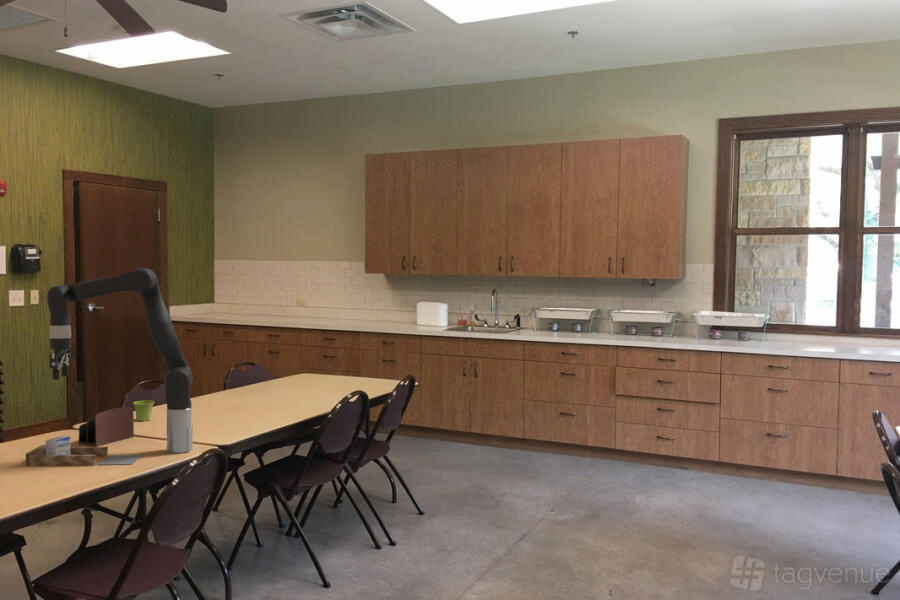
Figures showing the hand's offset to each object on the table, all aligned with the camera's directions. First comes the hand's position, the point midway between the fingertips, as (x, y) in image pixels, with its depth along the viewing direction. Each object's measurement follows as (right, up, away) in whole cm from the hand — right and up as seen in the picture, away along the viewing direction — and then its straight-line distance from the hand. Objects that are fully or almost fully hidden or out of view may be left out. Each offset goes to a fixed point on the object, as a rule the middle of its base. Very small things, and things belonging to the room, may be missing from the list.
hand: (60, 377), depth 289 cm
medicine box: (+6, -30, -12) cm, 33 cm away
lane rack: (+9, -30, -12) cm, 33 cm away
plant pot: (+6, -27, +63) cm, 69 cm away
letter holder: (+8, -29, +21) cm, 37 cm away
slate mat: (+28, -30, -9) cm, 42 cm away
